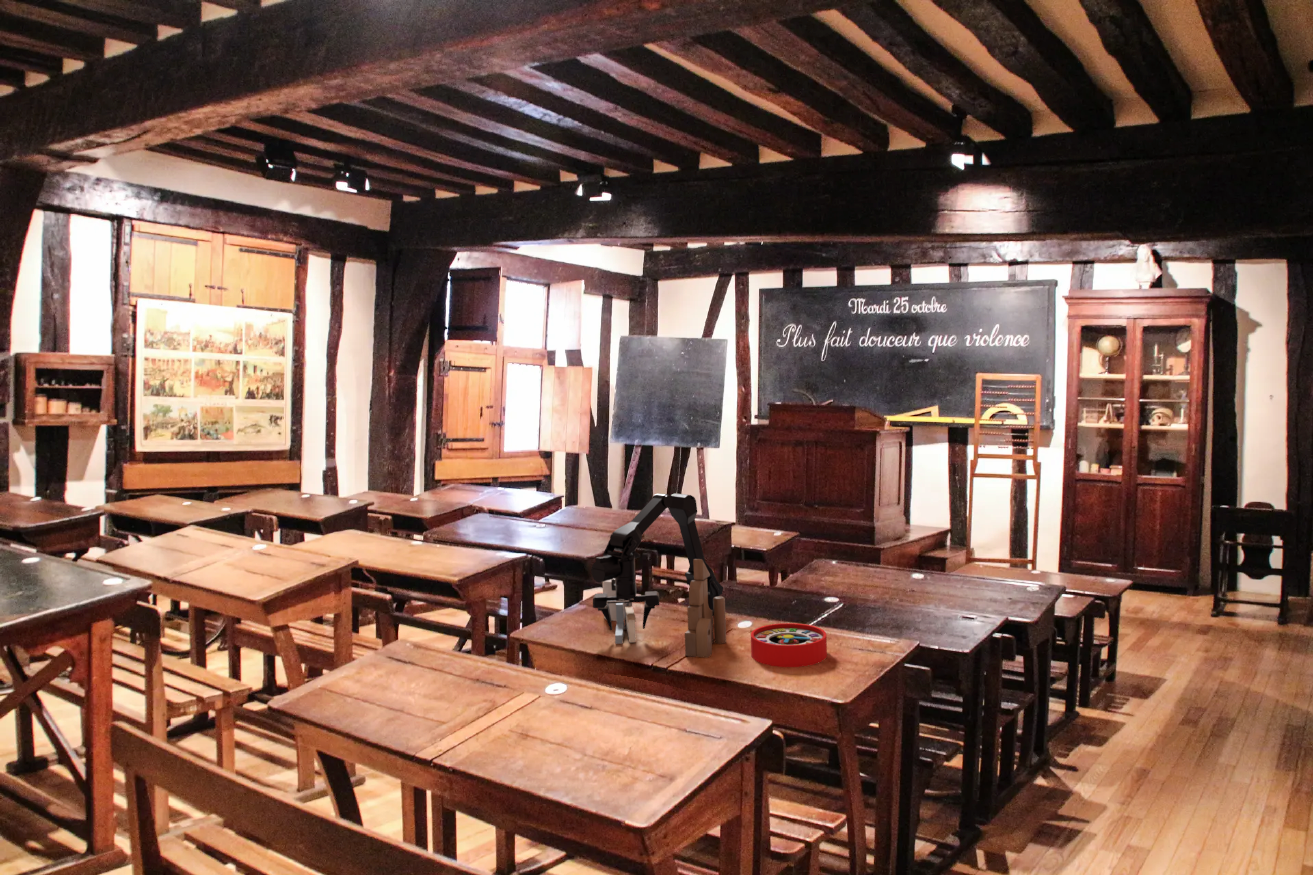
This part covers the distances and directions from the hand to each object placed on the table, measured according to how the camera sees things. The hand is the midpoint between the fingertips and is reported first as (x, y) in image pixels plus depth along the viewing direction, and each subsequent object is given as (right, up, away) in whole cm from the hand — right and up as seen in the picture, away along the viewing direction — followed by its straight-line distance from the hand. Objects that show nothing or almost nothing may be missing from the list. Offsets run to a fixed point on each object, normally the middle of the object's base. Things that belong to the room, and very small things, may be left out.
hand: (627, 629), depth 278 cm
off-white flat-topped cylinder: (-4, -1, +24) cm, 25 cm away
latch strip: (-2, -3, +3) cm, 5 cm away
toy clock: (+44, -4, -17) cm, 47 cm away
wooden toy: (+22, -4, -10) cm, 24 cm away
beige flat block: (+1, -2, +3) cm, 4 cm away
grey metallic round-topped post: (0, -2, +12) cm, 12 cm away
